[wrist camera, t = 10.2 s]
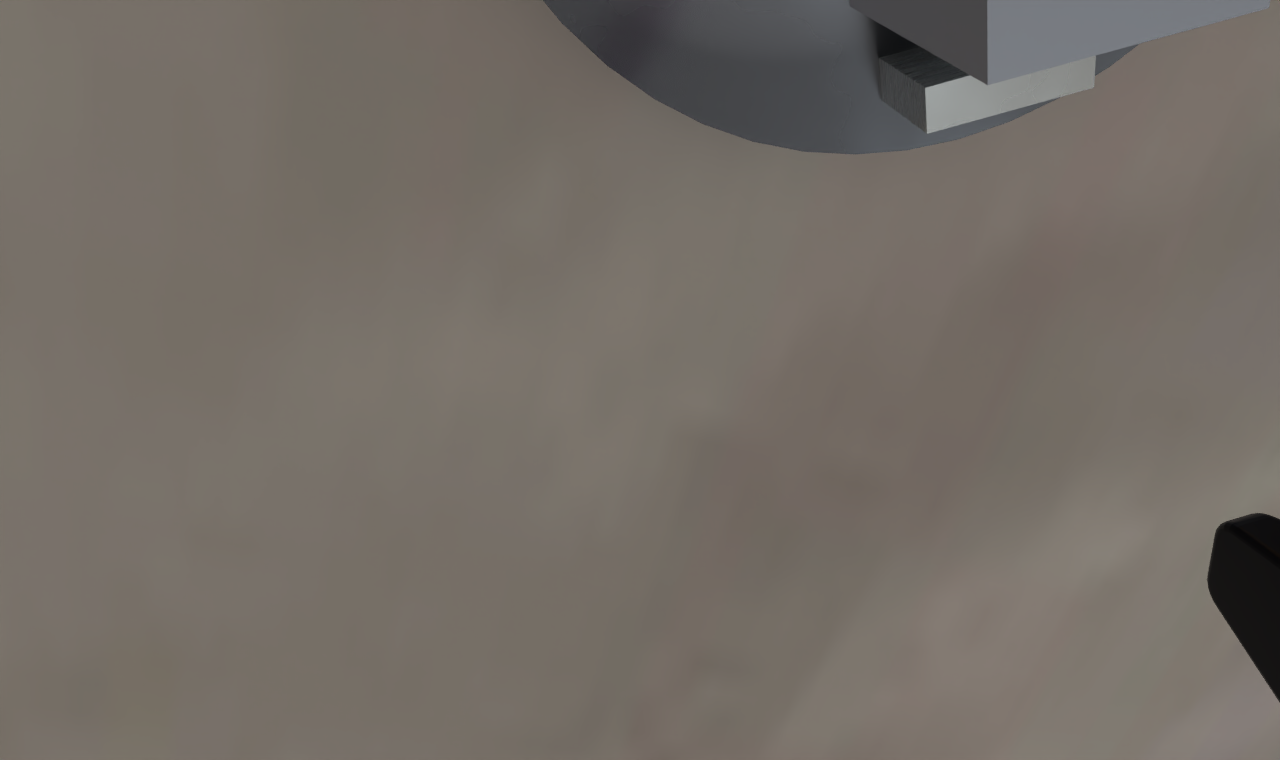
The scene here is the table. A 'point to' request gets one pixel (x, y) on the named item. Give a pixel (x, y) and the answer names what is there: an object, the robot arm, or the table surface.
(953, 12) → the tan and grey block
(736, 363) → the table surface
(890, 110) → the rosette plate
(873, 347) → the table surface
